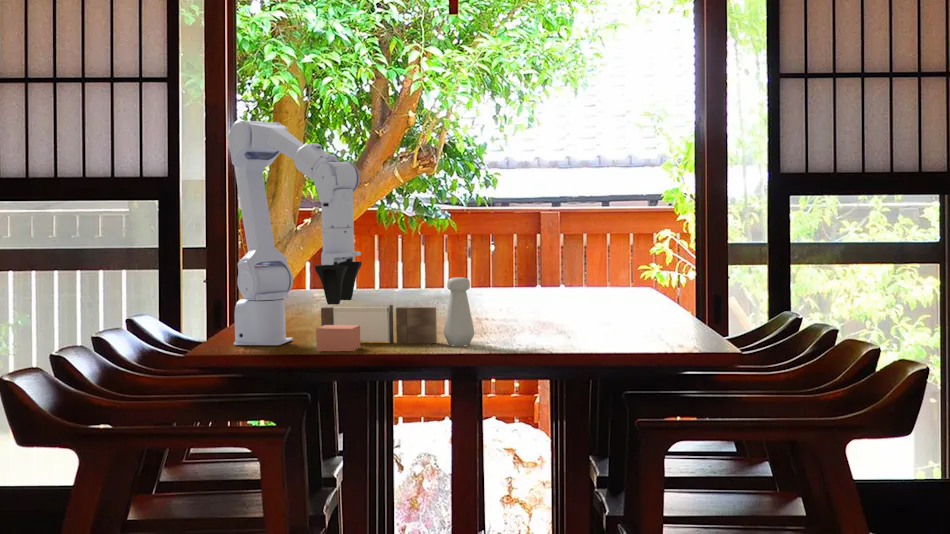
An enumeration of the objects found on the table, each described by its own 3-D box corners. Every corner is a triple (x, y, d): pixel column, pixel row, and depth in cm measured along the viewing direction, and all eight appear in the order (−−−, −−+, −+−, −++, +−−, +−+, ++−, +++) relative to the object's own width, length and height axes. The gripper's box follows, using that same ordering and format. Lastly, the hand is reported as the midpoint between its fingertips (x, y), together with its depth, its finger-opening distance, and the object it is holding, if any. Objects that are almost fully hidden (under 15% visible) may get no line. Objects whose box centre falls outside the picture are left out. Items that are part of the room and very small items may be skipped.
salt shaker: (470, 347, 177) (469, 278, 176) (441, 346, 178) (440, 278, 178) (477, 342, 183) (476, 276, 182) (448, 342, 184) (447, 276, 183)
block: (316, 352, 175) (316, 328, 175) (325, 348, 180) (324, 324, 180) (352, 352, 174) (352, 328, 174) (360, 348, 179) (359, 325, 179)
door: (334, 341, 186) (333, 307, 186) (335, 340, 187) (335, 307, 187) (387, 341, 184) (387, 307, 184) (389, 340, 186) (388, 307, 185)
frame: (321, 342, 186) (320, 305, 186) (325, 341, 188) (324, 304, 188) (435, 343, 182) (434, 305, 182) (437, 342, 184) (436, 304, 184)
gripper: (348, 228, 163) (350, 306, 164) (369, 226, 177) (371, 298, 178) (309, 229, 164) (311, 306, 165) (333, 227, 178) (335, 298, 179)
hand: (339, 302), depth 171 cm, fingers open, 7 cm apart
